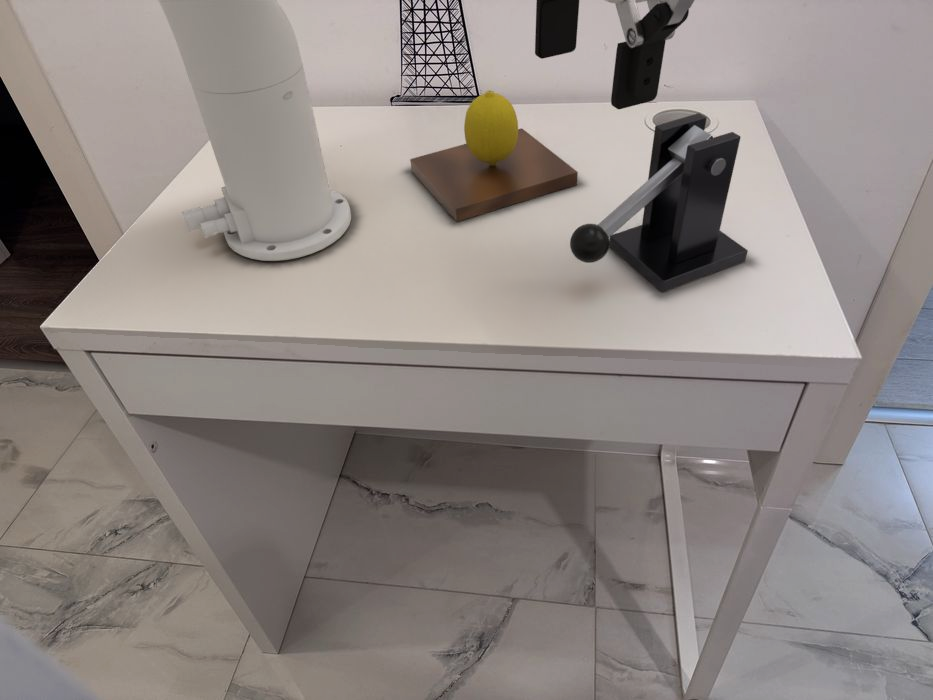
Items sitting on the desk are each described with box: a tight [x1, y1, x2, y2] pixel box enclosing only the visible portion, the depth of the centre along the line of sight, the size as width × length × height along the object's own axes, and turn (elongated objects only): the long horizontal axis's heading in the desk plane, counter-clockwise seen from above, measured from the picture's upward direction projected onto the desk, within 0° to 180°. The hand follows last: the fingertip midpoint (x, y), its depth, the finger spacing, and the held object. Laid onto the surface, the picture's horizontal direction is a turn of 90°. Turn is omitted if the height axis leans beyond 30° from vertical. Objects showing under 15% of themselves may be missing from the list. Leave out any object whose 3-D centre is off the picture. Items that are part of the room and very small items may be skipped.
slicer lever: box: [569, 125, 714, 264], centre depth 56 cm, size 14×3×3 cm, turn 115°
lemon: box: [463, 90, 519, 166], centre depth 71 cm, size 6×6×8 cm
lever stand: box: [609, 112, 749, 293], centre depth 59 cm, size 9×8×12 cm
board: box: [409, 128, 578, 223], centre depth 74 cm, size 14×12×2 cm
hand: (591, 77), depth 48 cm, fingers open, 9 cm apart
